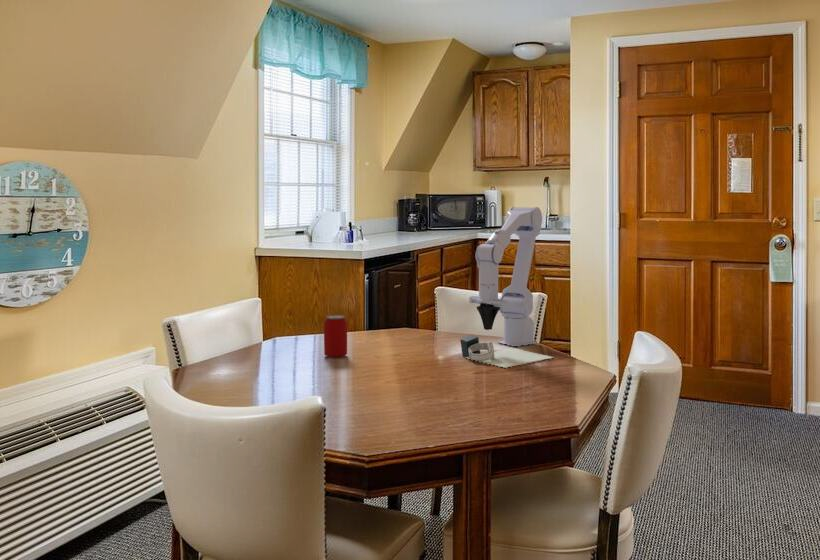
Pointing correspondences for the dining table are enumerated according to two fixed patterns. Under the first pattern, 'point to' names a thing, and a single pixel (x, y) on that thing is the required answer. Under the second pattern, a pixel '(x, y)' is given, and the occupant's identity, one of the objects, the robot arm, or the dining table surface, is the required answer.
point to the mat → (514, 358)
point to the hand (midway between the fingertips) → (488, 329)
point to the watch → (476, 348)
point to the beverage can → (335, 336)
